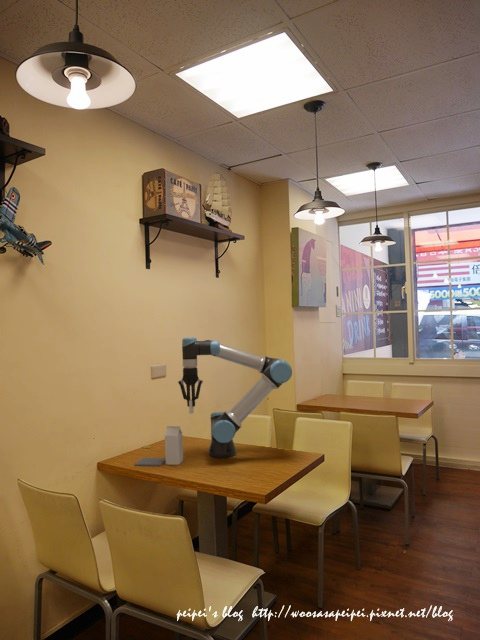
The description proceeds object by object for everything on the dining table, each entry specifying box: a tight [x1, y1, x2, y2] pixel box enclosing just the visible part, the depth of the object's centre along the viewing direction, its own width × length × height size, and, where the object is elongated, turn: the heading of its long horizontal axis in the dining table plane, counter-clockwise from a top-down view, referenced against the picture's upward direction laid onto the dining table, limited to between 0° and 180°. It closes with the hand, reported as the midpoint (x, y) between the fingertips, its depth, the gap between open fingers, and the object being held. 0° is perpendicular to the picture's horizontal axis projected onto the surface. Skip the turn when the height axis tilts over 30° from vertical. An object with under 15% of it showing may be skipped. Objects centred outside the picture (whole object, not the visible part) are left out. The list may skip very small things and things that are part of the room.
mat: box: [134, 457, 166, 467], centre depth 241 cm, size 14×12×1 cm
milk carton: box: [164, 425, 184, 466], centre depth 239 cm, size 7×7×19 cm
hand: (191, 412), depth 238 cm, fingers closed
